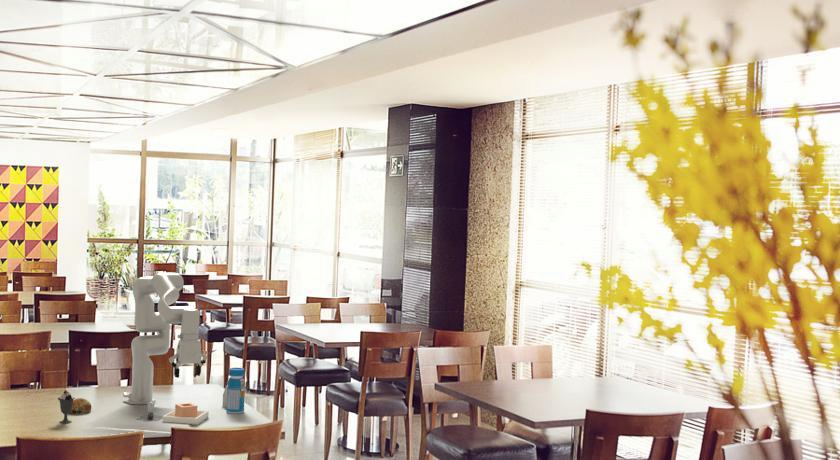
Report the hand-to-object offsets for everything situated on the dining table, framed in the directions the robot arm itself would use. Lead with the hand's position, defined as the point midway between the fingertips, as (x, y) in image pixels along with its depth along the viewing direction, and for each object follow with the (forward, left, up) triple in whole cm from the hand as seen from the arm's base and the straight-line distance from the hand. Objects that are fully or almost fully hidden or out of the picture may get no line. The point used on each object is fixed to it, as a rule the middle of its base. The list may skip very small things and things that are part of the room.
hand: (187, 376), depth 355 cm
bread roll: (-50, +3, -20) cm, 54 cm away
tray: (0, 0, -19) cm, 19 cm away
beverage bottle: (+15, +22, -19) cm, 33 cm away
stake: (-15, -2, -19) cm, 24 cm away
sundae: (-46, -16, -19) cm, 52 cm away
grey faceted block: (+10, +31, -20) cm, 38 cm away
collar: (0, 0, -18) cm, 18 cm away
